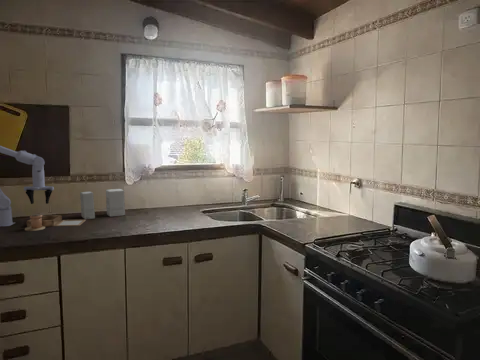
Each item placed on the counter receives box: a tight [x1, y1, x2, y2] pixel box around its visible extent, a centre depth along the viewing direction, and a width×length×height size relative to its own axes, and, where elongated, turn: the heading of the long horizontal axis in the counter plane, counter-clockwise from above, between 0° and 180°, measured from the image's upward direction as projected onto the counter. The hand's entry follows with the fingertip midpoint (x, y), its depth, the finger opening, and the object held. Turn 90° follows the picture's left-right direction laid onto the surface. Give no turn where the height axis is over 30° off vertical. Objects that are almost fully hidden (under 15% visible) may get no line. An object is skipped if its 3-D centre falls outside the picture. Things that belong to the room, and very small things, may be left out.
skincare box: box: [79, 191, 96, 220], centre depth 222 cm, size 8×6×15 cm
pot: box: [29, 213, 43, 229], centre depth 195 cm, size 6×6×6 cm
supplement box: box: [105, 188, 126, 217], centre depth 232 cm, size 9×9×15 cm
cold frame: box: [26, 214, 63, 228], centre depth 205 cm, size 13×13×4 cm
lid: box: [54, 219, 87, 227], centre depth 207 cm, size 12×13×1 cm
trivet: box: [24, 226, 46, 232], centre depth 195 cm, size 9×9×1 cm
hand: (39, 203), depth 212 cm, fingers open, 7 cm apart
